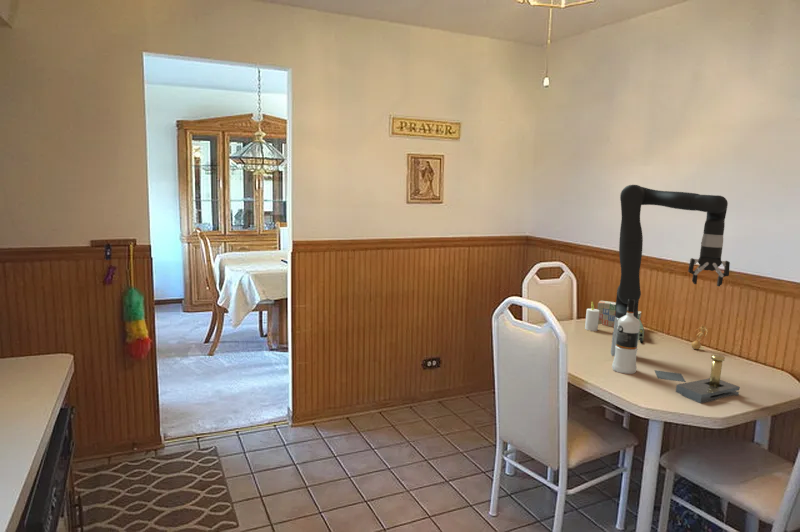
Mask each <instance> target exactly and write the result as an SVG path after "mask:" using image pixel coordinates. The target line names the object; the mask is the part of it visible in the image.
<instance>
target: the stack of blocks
mask: <svg viewBox="0 0 800 532" xmlns="http://www.w3.org/2000/svg"><path fill="white" fill-rule="evenodd" d="M615 308H616V301H615V302H614V301H609V300H608V301H607V300H599V301H598V302H597V310H599V321H598V325H601V324H602V325H601V326H608V327H613V328H614V321H615ZM641 318H642V311H640V310H638V319H640V320H641ZM641 321H642V320H641Z"/></svg>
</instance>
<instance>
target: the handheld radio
mask: <svg viewBox="0 0 800 532" xmlns="http://www.w3.org/2000/svg"><path fill="white" fill-rule="evenodd" d="M638 320H639V321H640V328H639V330H640V331H639V336H638V340H640V341H639V342H640V343H641V344H643V343H644V340H645V329H644V325H643V323H642V320H640V319H638Z"/></svg>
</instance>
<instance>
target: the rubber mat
mask: <svg viewBox="0 0 800 532" xmlns="http://www.w3.org/2000/svg"><path fill="white" fill-rule="evenodd" d="M654 373H655V375H656V378H657V379H660V380H667V381H673V382H674V381H675V382H681V383H687V382H686V380H685V378H684V376H683V375H682V373H679V372H674V371H673V372H672V371H664V370H656V369H654Z"/></svg>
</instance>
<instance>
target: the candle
mask: <svg viewBox="0 0 800 532" xmlns="http://www.w3.org/2000/svg"><path fill="white" fill-rule="evenodd" d="M585 313H586V314H585V321H584V322H585V325H584V330H585V329H586V330H585V331H588V330H590V331H589V332H597V331H598V328H599V324H598V321H599V310H598V308H595V305H594V301H591V307H590V308H586V312H585Z"/></svg>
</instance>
